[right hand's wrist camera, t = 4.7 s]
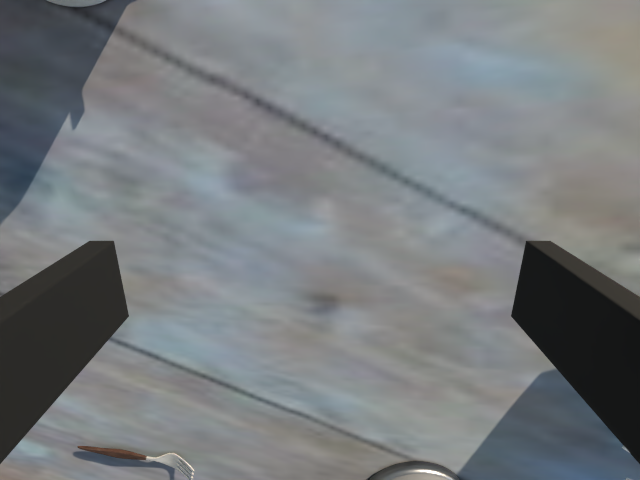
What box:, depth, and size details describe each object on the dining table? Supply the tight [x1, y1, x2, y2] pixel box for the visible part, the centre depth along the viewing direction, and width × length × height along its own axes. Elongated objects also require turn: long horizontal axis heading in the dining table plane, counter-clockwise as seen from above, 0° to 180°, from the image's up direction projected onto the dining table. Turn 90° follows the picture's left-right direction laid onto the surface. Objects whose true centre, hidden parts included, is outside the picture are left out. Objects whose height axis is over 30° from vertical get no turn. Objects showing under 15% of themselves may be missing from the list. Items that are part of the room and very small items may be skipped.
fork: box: [78, 446, 195, 480], centre depth 52 cm, size 3×16×2 cm, turn 77°
